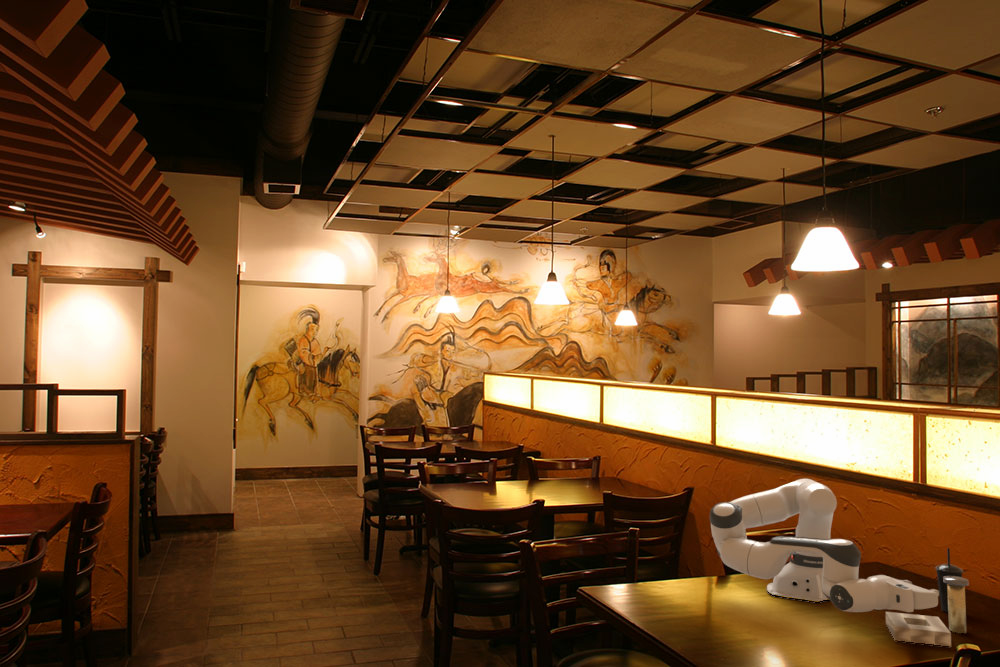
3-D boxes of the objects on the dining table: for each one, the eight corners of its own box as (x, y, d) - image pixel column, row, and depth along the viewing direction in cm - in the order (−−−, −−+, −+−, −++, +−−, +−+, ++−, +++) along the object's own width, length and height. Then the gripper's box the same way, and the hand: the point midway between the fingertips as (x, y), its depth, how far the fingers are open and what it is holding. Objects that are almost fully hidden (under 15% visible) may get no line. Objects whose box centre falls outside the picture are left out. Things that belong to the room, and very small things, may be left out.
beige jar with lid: (948, 633, 210) (946, 580, 211) (942, 626, 216) (940, 575, 217) (973, 635, 208) (971, 582, 209) (966, 628, 214) (965, 577, 215)
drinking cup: (964, 617, 224) (962, 552, 225) (936, 612, 228) (934, 549, 230) (964, 610, 231) (962, 547, 232) (936, 606, 235) (934, 544, 236)
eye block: (894, 641, 204) (894, 626, 204) (885, 625, 217) (885, 611, 217) (951, 647, 199) (950, 632, 199) (938, 630, 212) (938, 616, 213)
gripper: (858, 593, 216) (895, 588, 220) (914, 614, 196) (953, 609, 200) (857, 571, 216) (894, 568, 220) (913, 591, 197) (952, 586, 200)
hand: (923, 587), depth 210 cm, fingers open, 8 cm apart
